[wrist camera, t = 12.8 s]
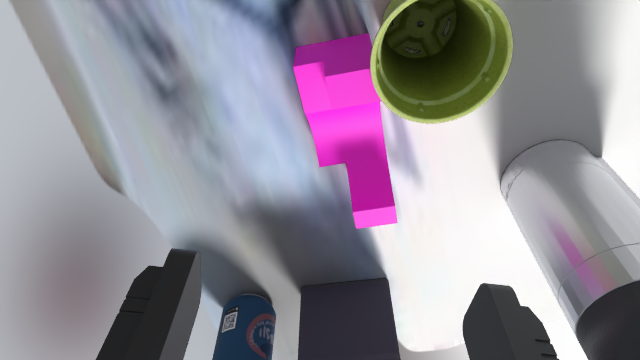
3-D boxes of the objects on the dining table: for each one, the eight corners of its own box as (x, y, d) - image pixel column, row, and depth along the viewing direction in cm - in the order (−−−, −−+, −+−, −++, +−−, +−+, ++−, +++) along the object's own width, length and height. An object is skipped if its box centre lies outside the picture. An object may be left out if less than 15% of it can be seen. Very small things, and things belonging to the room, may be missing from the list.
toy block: (296, 46, 38) (290, 83, 32) (368, 32, 37) (377, 67, 31) (328, 183, 47) (329, 232, 41) (387, 174, 46) (397, 222, 40)
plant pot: (352, 68, 39) (358, 115, 32) (373, -50, 33) (387, -24, 26) (455, 81, 40) (483, 131, 33) (493, -32, 34) (537, -2, 27)
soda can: (286, 313, 59) (279, 402, 50) (244, 328, 62) (230, 416, 52) (257, 283, 56) (243, 373, 46) (213, 300, 58) (192, 390, 48)
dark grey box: (306, 304, 58) (301, 421, 46) (300, 282, 56) (294, 401, 44) (389, 296, 57) (407, 414, 45) (387, 274, 55) (405, 393, 43)
